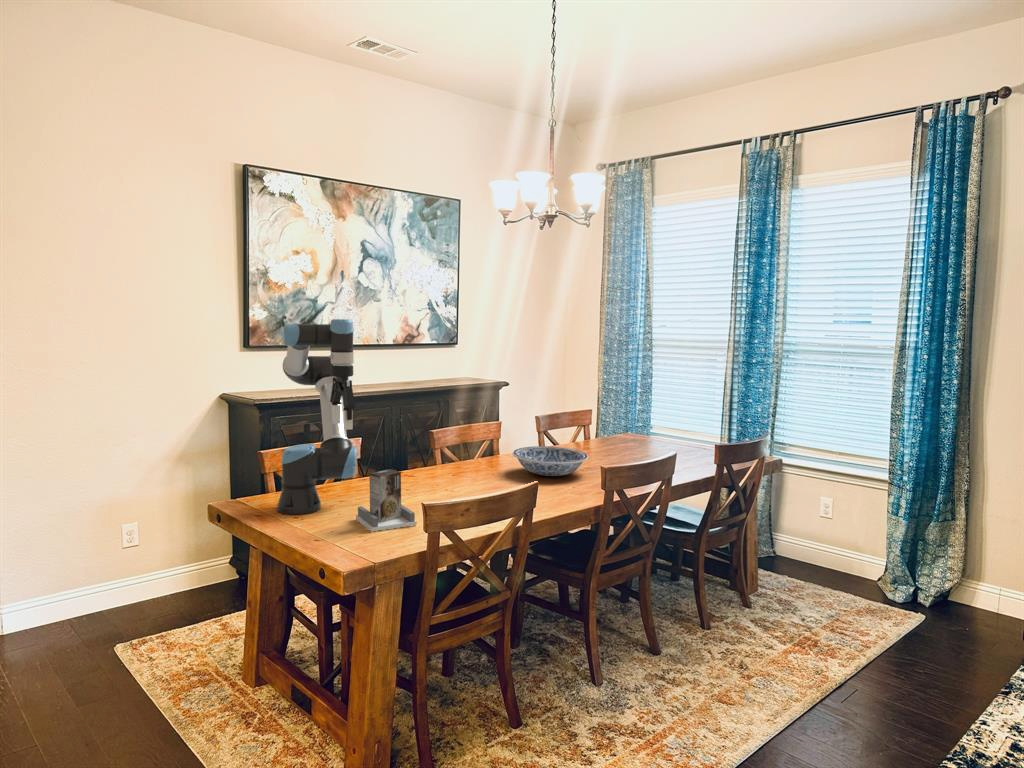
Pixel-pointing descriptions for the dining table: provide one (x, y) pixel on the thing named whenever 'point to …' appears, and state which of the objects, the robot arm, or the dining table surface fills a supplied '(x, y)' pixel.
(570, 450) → the ceramic bowl
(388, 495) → the coffee box
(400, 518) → the guide cradle
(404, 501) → the dining table surface
